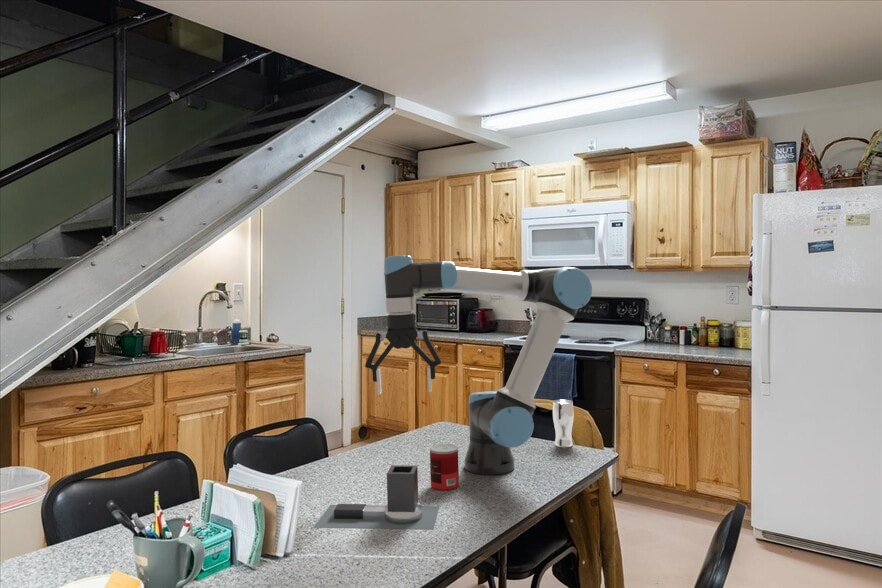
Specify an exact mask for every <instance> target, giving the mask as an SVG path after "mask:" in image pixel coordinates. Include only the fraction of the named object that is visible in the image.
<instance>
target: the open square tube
mask: <svg viewBox="0 0 882 588" xmlns="http://www.w3.org/2000/svg"><path fill="white" fill-rule="evenodd" d="M418 469H419V468H418V465H413V464H412V465H409V464H408V465H403V464H402V465H399V464H398V465H394V464H393V465H391V466H390V468H389V470H388V471H387V473H386V493H387V495H386V498H387V500H386V502H387V504H388V512H415V510H416V507H417V504H418V502H419V483H418V482H419V475H418V474H419V473H418V472H419V471H418Z"/></svg>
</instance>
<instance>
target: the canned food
mask: <svg viewBox="0 0 882 588" xmlns="http://www.w3.org/2000/svg"><path fill="white" fill-rule="evenodd" d="M429 465H430V466H429V467H430V468H429V470H430V487H431V489H432V490H435V491H441V492H443V491H444V492H447V491H448V492H449V491H452V490H458V487H459V485H460V482H459V481H460V479H459V478H460V477H459V448H458V446H457V445H454V444H450V443H442V444H441V443H439V444H436V445H432V446H431V447H429Z"/></svg>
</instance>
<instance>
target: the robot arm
mask: <svg viewBox="0 0 882 588" xmlns="http://www.w3.org/2000/svg"><path fill="white" fill-rule="evenodd" d="M383 267H384V270H383V271H384V272H383V275H384V287H385V307H386V308H385V309H386V313H388V315H387V316H386V322H387V324H386V325H387V330H386V331H387V332H386V333H382V332H376V334H375V341H374V344H373V346H372V349H371V351H370V353H369V355H368V358H367V360H366V362H365V365H364V366H365V368H366V369H370V370H371V372H372V381H373V382H374V383H376V388H377V389H376V390H377V395H378V396H379V395H382V393H383V389H382V372H381V371H382V369H381V368H379V367H380V365H381V364H382V362H383V361H384V360H385V359H386V357H387V356H388V355H389V354H390V352H391V351H392V349H393V348H394V349H396V350H397V349H398V350H399V349H409V348H412V350H414V351H415V353H417V354H418V355H419V356H420V357H421V358H422V359H423V360H424V361H425V362H426V364H427V365H428V366H427V383H428V385H427V387H428V393H432V391H433V388H432V387H433V386H432V385H433V383H432V380H435V379H436V367H437V366H440V365H441V364H442V360H441V357H440V356H439V354H438V352H437V351H436V348H435V347H434V345H433V344H432V342H431V340H430V337H429V334H428V330H427V329H424V330H421V331H417V328H416V315H415V314H414V312H415V295H414V294H415V293H414V292H415V291H421V290H422V291H425V290H426V291H438V292H439V291H442V292H455V293H463V294H474V295H476V294H477V295H486V296H500V297H510V298H516V299H517V300H518V301H520V302H528V303H533V304H535V305H536V308H537V314H536V316H535V317H534V320H533V322H532V325H531V327H530V328H529V331H528V334H527V336H526V337H525V338H526V339H525V341H524V343H523V345H522V348H521V350H520V353H519V355H518V356H517V359H516V361H515V363H514V366H513V368H512V371H511V373H510V375H509V377H508V380H507V382H506V384H505V386H504V387H502V388H499V389H497V390H492V391H490V390H489V391H487V390H486V391H477V392H476V391H475V392H472V393H471V394H469V396H468V402H467V403H468V424H469V425H468V426H469V429H468V430H469V444H468V446H467V451H466V453H465V457H464V462H463V463H464V464H463V465H464V469H465V470H466V471H468V472H470V473H473V474H477V475H488V476H492V475H503V474H506V473H509V472H511V471H513V470H514V469H515V458H514V455H513V452H512V449H514V448H518V447H521V446H522V445H524V444H525V443H526V442H528V441H529V440H530V438H531V436H532V434H533V432H534V427H535V425H534V424H535V423H534V419H533V415H534V412H535V410H536V404H535V401H534V399H535V396H536V393H537V391H538V389H539V386H540V384H541V382H542V380H543V377H544V375H545V373H546V370H547V368H548V366H549V363H550V361H551V359H552V356H553V354H554V352H555V349H556V347H557V345H558V342H559V341H560V338H561V335H562V333H563V331H564V329H565V327H566V324H567V323H568V322H571V321H573V320H574V319H575V317H576V315H577V313H578V311H579V309H580V308H583V307H585V306H586V305H587V304H588V303H589V301H590V300H591V297H592V294H593V293H592V292H593V285H592V283H591V280H590V277H589V275H587V273H586V272H585V271H583V270H582V269H581V268H578V267H572V266H563V267H554V268H553V267H551V268H543V269H534V270H533V269H532V270H530V269H529V270H527V269H521V270H520V271H519V272H516V271H515V272H514V271H503V270H494V269H493V270H492V269H485V268H484V269H482V268H471V267H464V266H462V267H461V266H456V264H455V263H454V262H453V261H449V260H447V261H444V260H440V261H425V262H424V261H423V262H415V261H414V260H413V257H412V256H411V255H408V254H407V255H406V254H405V255H404V254H403V255H390V256H387V257H385V259H384V266H383ZM418 337H419V338H420V339H421V340H423V341H424V343H425V345H426V347H427V349H428V350H429V352H430V354H431V356H432V357H433V358H431V357H430V356H429V355H428V353H426V352H425V351H424V350H423V349H422V348H421V346H419V344H418V343H417V342H416V339H417V338H418ZM385 338H386V339H387V341H388V342H389V344H388V346H387V347H386V348H385V349H384V350H383V352H382V353H381V354H380V356H379V357H378V358H377V360H376V361H375V362H374V363H373V361H374V359H375V357H376V354H377V352H378V350H379V348H380V346H381V342H382V341H384V340H385ZM432 359H433V360H432Z"/></svg>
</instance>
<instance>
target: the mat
mask: <svg viewBox="0 0 882 588" xmlns="http://www.w3.org/2000/svg"><path fill="white" fill-rule="evenodd" d="M337 505H338V504H330V505H329V506H328V507H327V509H326V510H325V511H324V512H323V514H322V515H321V516H320V517H319V519H318V520H317V522H316V523H315V524H314V525H313V527H312V528H315V529H316V528H317V529H320V528H322V529H323V528H324V529H326V528H327V529H373V530H374V529H378V530H380V529H381V530H428V531H429V530H434V529H435V525H436V522H437V517H438V513H439V510H440V505H437V506H435V505H422V518H421V519H420V520H419V521H417V522H414V523H410V524H393V523H389V522H387V521H386V520H385V519H334V518H332V510H333V509H334V508H335V506H337ZM366 506H381V507H385V506H386V505H373V504H371V505H370V504H369V505H367V504H366Z"/></svg>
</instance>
